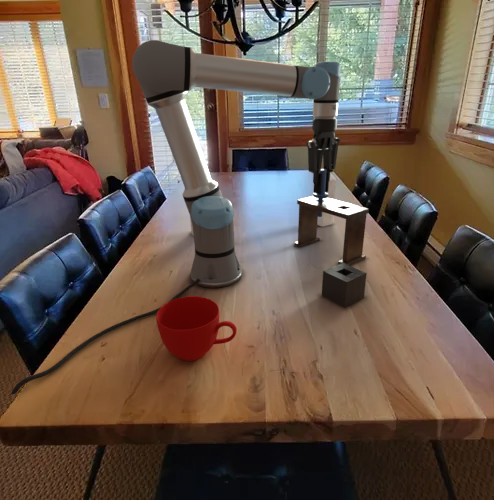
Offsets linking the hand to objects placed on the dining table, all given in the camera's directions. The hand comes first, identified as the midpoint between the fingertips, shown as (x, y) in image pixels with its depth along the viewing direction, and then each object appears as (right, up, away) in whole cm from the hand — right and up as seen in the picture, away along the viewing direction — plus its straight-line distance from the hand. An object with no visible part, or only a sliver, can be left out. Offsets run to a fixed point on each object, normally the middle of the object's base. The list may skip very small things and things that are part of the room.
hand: (320, 191), depth 125 cm
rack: (+3, -20, +4) cm, 21 cm away
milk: (+6, -9, +31) cm, 33 cm away
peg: (0, -1, +1) cm, 2 cm away
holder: (+2, -32, -24) cm, 40 cm away
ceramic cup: (-34, -42, -44) cm, 69 cm away
